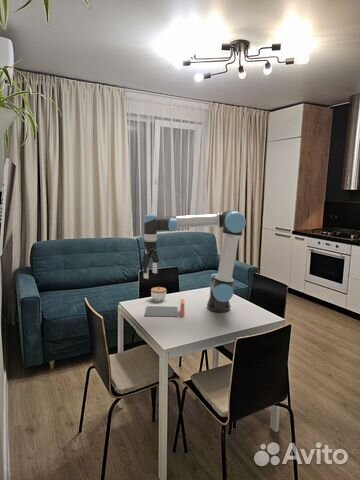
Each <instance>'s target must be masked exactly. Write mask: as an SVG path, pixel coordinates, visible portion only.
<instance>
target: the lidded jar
mask: <svg viewBox="0 0 360 480" xmlns="http://www.w3.org/2000/svg"><path fill="white" fill-rule="evenodd" d="M150 295H151V296H150V297H151V298H152V299H153V301H154V302H163V300H165V298H166V295H167V288H165V287H162V286H156V287H152V288H151V289H150Z"/></svg>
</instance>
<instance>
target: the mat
mask: <svg viewBox="0 0 360 480" xmlns="http://www.w3.org/2000/svg"><path fill="white" fill-rule="evenodd" d="M143 316H144V317H149V318H150V317H151V318H152V317H155V318H157V317H158V318H159V317H163V318H166V317H167V318H169V317H170V318H178V306H165V305H163V306H161V305H160V306H156V305H155V306H154V305H153V306H151V305H147V306H146V308H145V311H144V315H143Z"/></svg>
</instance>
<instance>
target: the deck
mask: <svg viewBox="0 0 360 480" xmlns="http://www.w3.org/2000/svg"><path fill="white" fill-rule="evenodd" d="M179 304H180V306H179V307H180V310H179V311H180V317H185V299H184V298H180V303H179Z"/></svg>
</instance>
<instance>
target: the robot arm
mask: <svg viewBox="0 0 360 480" xmlns="http://www.w3.org/2000/svg"><path fill="white" fill-rule="evenodd" d="M246 222H247V221H246V218H245V216H244V214H243V213H241V212H239V211H237V210H232V209H231V210H225V211H220V212H218V211H217V212H216V213H213V214H212V213H211V214H209V213H207V214H193V215H175V216H174V215H173V216H171V215H167V216H165V217H160V218H159V217H158V216H157V215H156V214H145V215H144V217H143V238H144V239H143V245H144V246H143V247H144V248H145V249H146V250H145V249H144V250H143V257H142V263H141V269H142V268H143V279H147V280H149V264H150V261H151V260H152V273H153V274H158V263H159V256H158V255H159V254H158V250H157V247H158V243H157V240H158V234H157V233H158V232H176V231H178V229H185V228H187V229H188V228H205V227H206V228H207V227H217V228H222V234H223V242H222V246H221V247H222V248H221V253H220V259H219V266H218V271H217V273H212V274H211V275H210V291H209V298H208V301H207V305H206V309H207V310H209V311H210V312H214V313H227V312H229V311H231V304H230V300H231V299H232V298H233V296H234V282H235V281H234V280H235V279H234V278H233V273H234V268H235V261H236V256H237V251H238V244H239V238H241V237H242V236H243V231H244V229H245V227H246V224H247V223H246Z"/></svg>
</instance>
